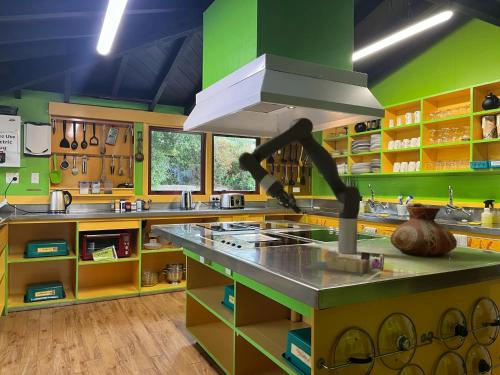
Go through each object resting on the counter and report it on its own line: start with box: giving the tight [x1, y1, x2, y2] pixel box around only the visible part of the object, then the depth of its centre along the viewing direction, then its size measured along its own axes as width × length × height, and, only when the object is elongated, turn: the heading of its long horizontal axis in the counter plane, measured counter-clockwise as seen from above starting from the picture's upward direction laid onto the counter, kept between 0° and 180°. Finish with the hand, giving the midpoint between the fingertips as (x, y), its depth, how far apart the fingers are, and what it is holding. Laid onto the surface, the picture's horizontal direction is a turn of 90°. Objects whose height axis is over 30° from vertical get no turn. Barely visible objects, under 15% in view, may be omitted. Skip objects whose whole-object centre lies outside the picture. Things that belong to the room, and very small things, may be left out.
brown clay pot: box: [389, 202, 458, 258], centre depth 189 cm, size 30×30×25 cm
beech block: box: [326, 255, 371, 275], centre depth 148 cm, size 6×4×15 cm
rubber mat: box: [303, 260, 374, 277], centre depth 150 cm, size 16×24×1 cm
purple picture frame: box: [360, 251, 385, 272], centre depth 153 cm, size 7×5×9 cm
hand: (299, 212), depth 166 cm, fingers closed
